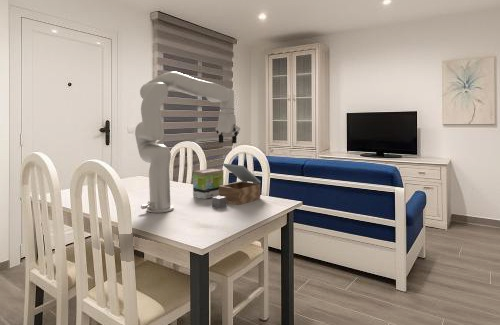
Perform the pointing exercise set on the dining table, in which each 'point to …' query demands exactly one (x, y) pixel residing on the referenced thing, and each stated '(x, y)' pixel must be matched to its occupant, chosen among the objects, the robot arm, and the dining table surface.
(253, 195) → the box
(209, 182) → the tea box
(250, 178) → the lid
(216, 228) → the dining table surface
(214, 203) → the block
